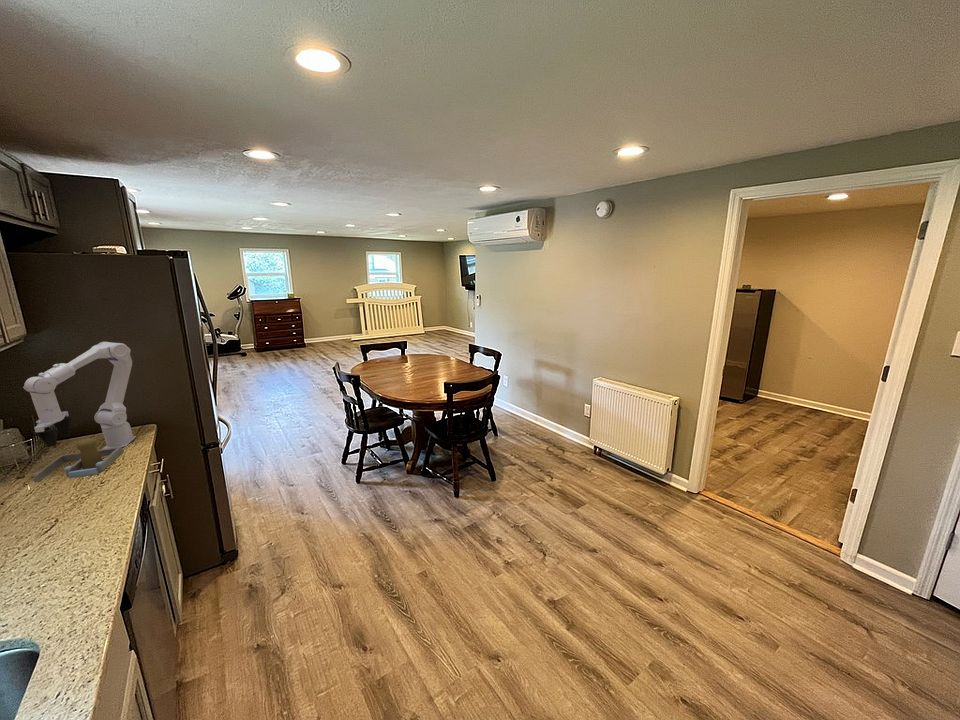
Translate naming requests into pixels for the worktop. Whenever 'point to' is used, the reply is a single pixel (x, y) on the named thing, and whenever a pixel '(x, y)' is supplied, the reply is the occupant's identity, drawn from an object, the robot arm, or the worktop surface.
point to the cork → (88, 453)
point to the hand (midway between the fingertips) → (59, 441)
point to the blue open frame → (79, 464)
